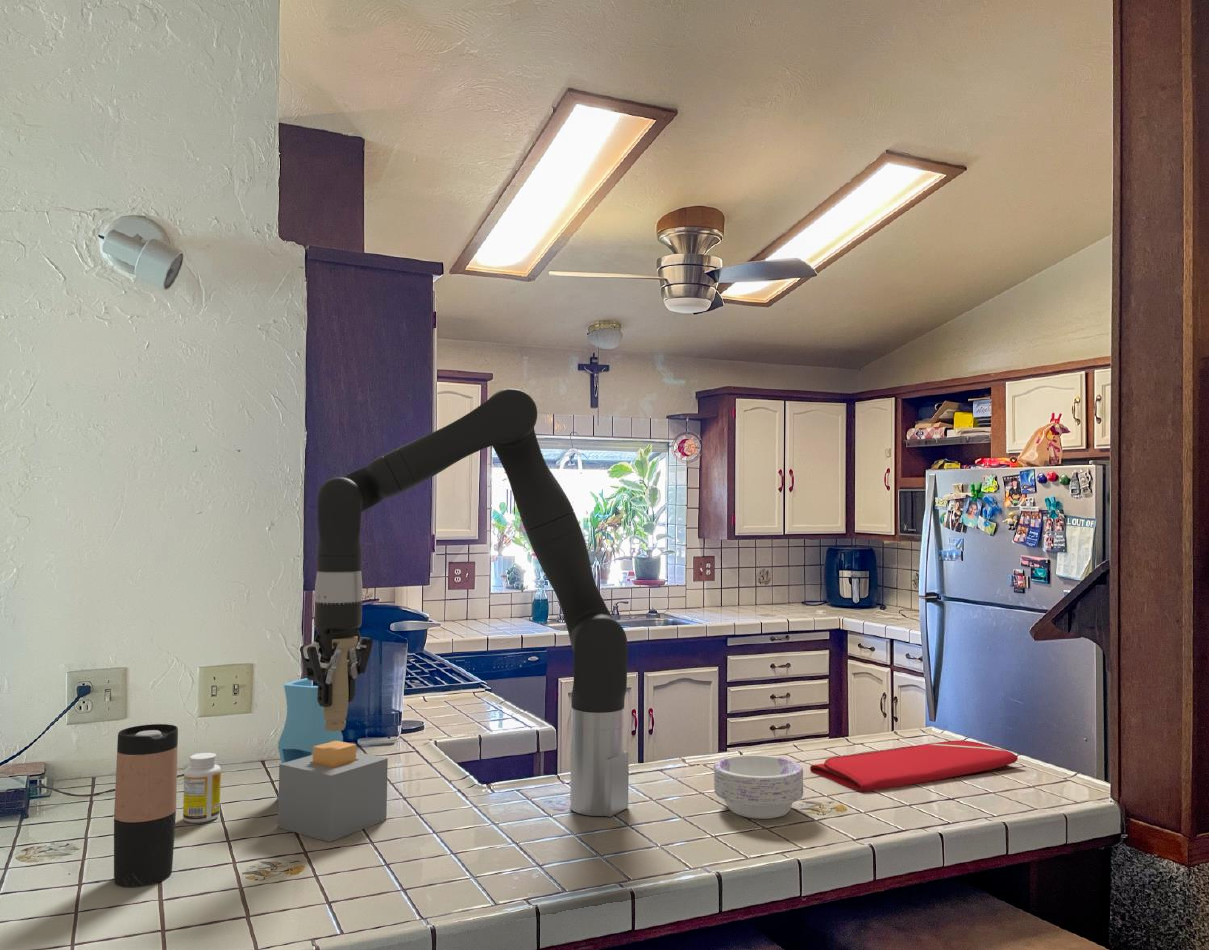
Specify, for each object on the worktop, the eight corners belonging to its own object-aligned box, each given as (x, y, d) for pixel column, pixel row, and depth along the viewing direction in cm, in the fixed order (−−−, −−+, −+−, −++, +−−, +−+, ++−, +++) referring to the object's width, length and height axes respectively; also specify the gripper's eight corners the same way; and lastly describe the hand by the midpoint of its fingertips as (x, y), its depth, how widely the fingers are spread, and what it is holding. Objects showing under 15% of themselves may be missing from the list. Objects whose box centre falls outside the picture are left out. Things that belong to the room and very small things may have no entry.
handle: (353, 732, 144) (355, 639, 144) (312, 733, 143) (314, 639, 143) (357, 725, 148) (359, 635, 149) (317, 726, 147) (319, 635, 148)
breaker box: (386, 819, 147) (387, 758, 147) (329, 841, 136) (330, 775, 137) (335, 806, 153) (337, 747, 153) (277, 827, 143) (279, 763, 143)
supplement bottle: (213, 810, 150) (215, 749, 151) (224, 818, 146) (226, 756, 147) (178, 817, 147) (180, 754, 147) (188, 826, 143) (190, 761, 143)
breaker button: (355, 769, 146) (356, 744, 146) (332, 776, 142) (333, 750, 142) (335, 764, 148) (335, 740, 149) (312, 771, 144) (312, 746, 145)
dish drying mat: (808, 773, 178) (808, 754, 178) (959, 752, 195) (959, 735, 195) (862, 796, 163) (862, 775, 164) (1020, 771, 181) (1020, 752, 181)
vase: (341, 791, 162) (344, 680, 163) (314, 804, 154) (317, 687, 155) (305, 786, 164) (308, 677, 165) (276, 799, 157) (279, 684, 158)
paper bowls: (702, 799, 159) (702, 754, 159) (781, 795, 162) (781, 751, 162) (731, 828, 144) (731, 779, 144) (818, 823, 147) (818, 774, 148)
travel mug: (126, 866, 126) (132, 723, 127) (182, 865, 127) (187, 723, 128) (101, 888, 118) (106, 737, 119) (160, 887, 119) (165, 736, 120)
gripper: (320, 603, 139) (317, 714, 138) (386, 596, 151) (384, 699, 150) (287, 600, 142) (285, 709, 142) (355, 594, 155) (353, 694, 154)
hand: (336, 703), depth 146 cm, fingers closed on handle, 4 cm apart
